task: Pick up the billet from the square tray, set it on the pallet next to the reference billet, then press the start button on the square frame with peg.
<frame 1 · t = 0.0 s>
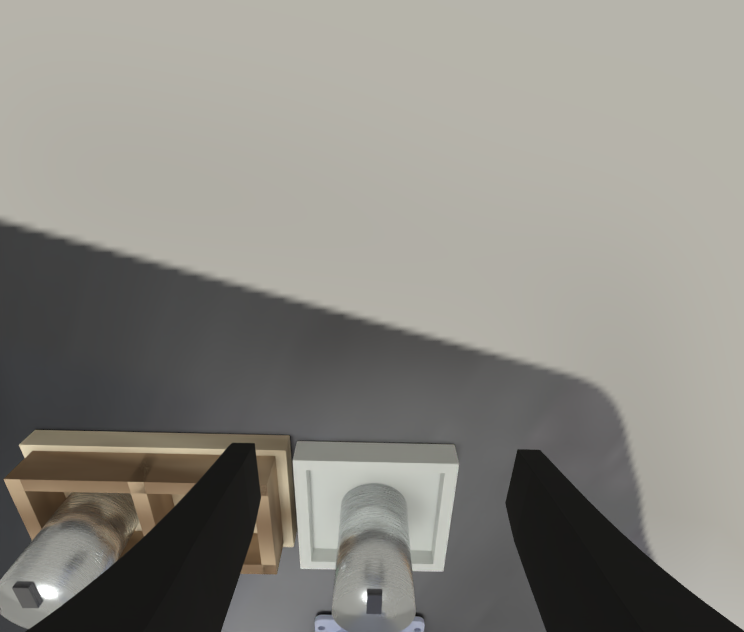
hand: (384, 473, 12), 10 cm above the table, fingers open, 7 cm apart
square tray: (373, 499, 26), on the table
reference billet: (112, 498, 25), point 1 cm above the table, touching pallet
pallet: (174, 483, 26), on the table
billet: (373, 507, 26), point 1 cm above the table, touching square tray
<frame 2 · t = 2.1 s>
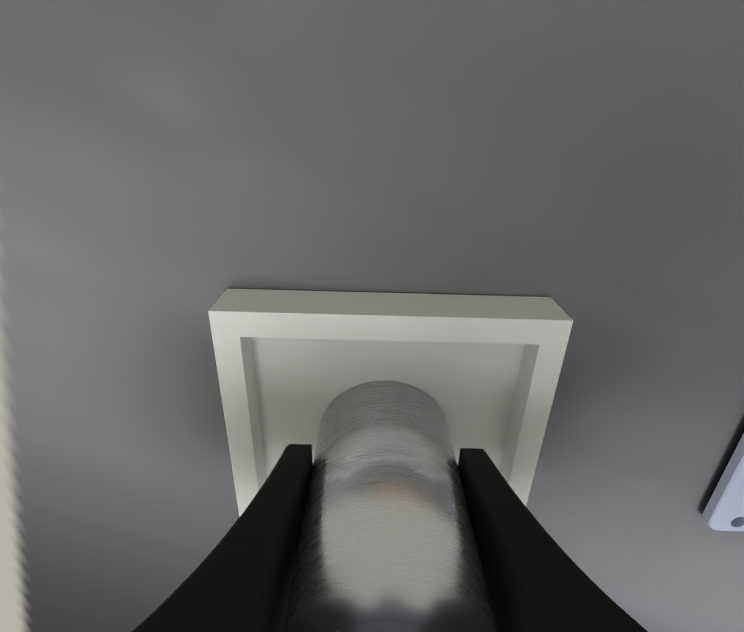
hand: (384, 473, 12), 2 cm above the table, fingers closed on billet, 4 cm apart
square tray: (383, 421, 14), on the table
billet: (383, 434, 13), point 1 cm above the table, touching gripper, square tray
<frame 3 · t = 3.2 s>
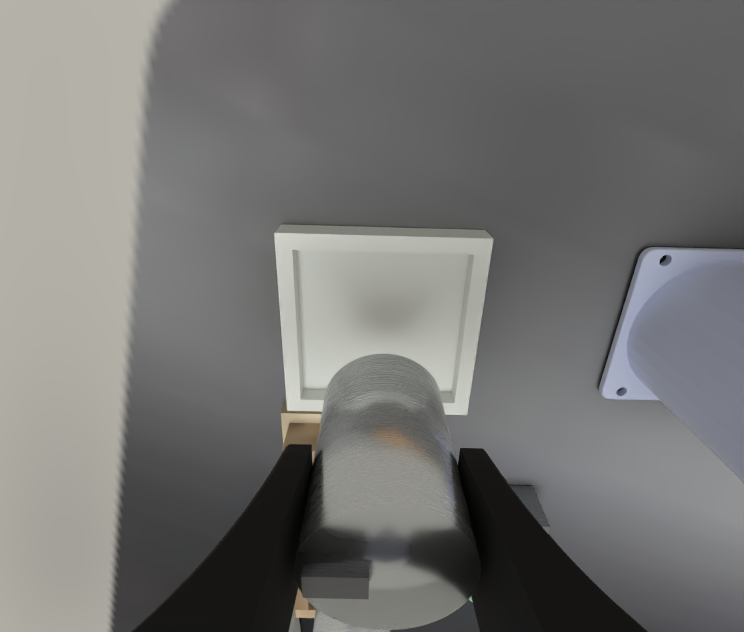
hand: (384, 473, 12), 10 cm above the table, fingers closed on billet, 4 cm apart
square tray: (379, 318, 21), on the table
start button: (482, 564, 24), point 3 cm above the table, slide at 0.0 cm
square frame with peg: (472, 521, 27), on the table
reference billet: (355, 549, 26), point 1 cm above the table, touching pallet
pallet: (356, 497, 26), on the table
billet: (382, 404, 15), point 7 cm above the table, touching gripper
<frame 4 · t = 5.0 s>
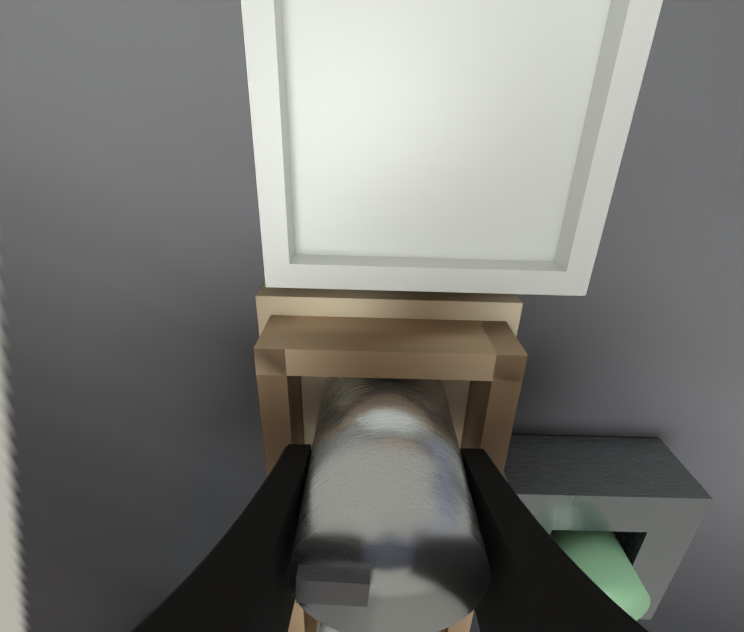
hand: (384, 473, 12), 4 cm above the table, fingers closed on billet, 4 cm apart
square tray: (433, 114, 11), on the table
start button: (588, 562, 15), point 3 cm above the table, slide at 0.0 cm
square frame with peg: (556, 497, 17), on the table
pallet: (380, 457, 16), on the table
billet: (383, 399, 14), point 1 cm above the table, touching gripper, pallet
when the fingers open (4 cm above the table, at t = 5.4 s): billet stays where it is, resting on pallet.
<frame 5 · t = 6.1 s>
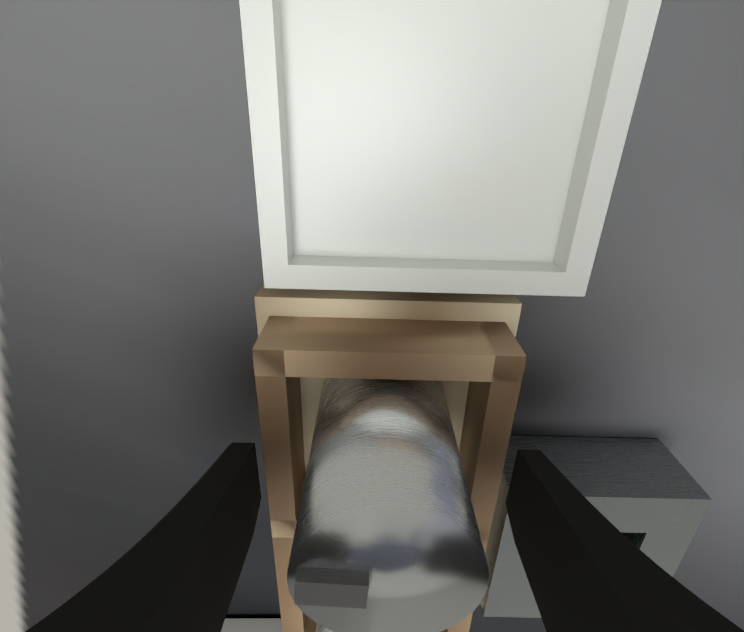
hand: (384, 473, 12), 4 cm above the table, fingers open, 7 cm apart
square tray: (432, 115, 11), on the table
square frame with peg: (556, 498, 17), on the table
pallet: (379, 458, 16), on the table
billet: (382, 400, 14), point 1 cm above the table, touching pallet
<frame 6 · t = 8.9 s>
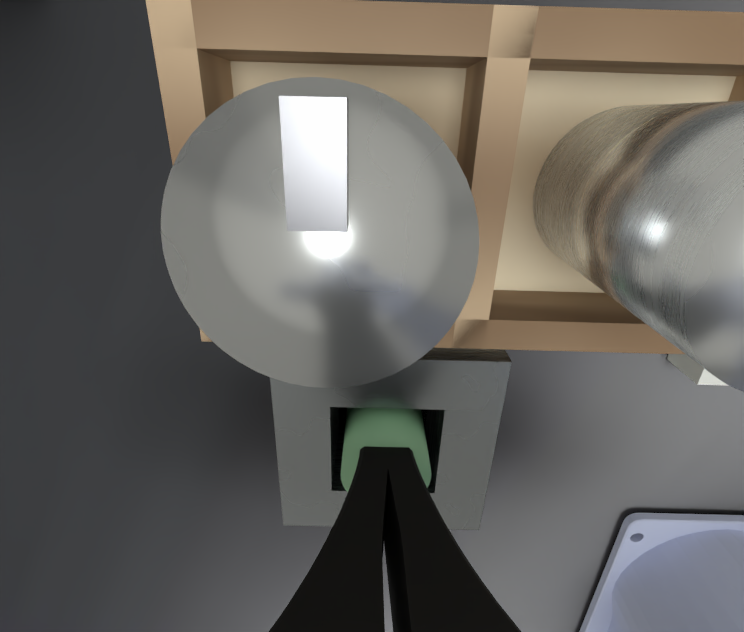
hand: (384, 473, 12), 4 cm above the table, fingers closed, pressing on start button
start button: (384, 438, 13), point 2 cm above the table, slide at 0.6 cm, touching gripper
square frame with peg: (383, 395, 15), on the table
reference billet: (348, 187, 11), point 1 cm above the table, touching pallet
pallet: (460, 183, 12), on the table
billet: (612, 192, 11), point 1 cm above the table, touching pallet
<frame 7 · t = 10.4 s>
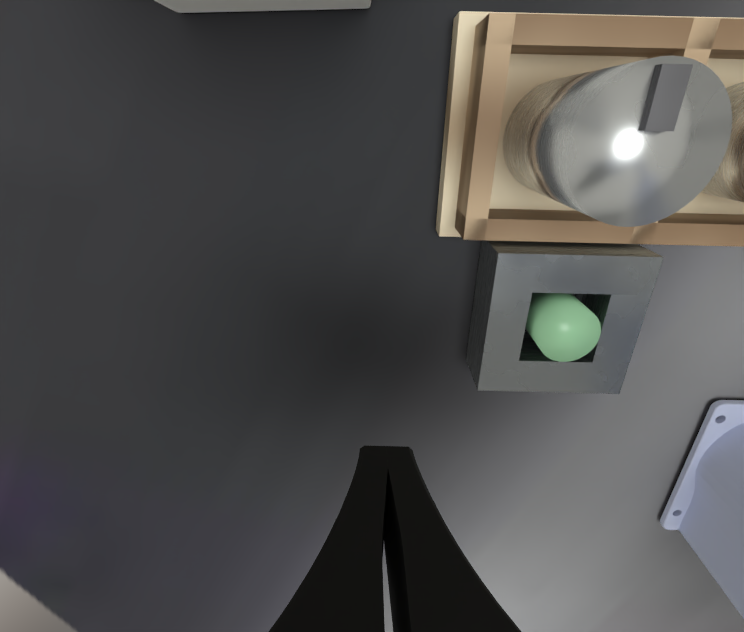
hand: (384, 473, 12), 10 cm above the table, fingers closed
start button: (555, 319, 19), point 2 cm above the table, slide at 0.9 cm
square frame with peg: (540, 302, 20), on the table
reference billet: (556, 137, 16), point 1 cm above the table, touching pallet
pallet: (621, 138, 17), on the table
billet: (733, 140, 16), point 1 cm above the table, touching pallet
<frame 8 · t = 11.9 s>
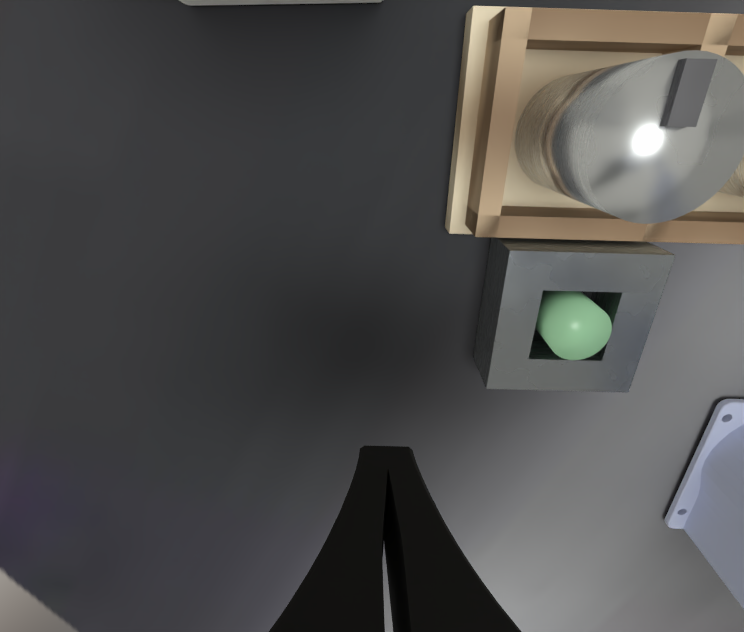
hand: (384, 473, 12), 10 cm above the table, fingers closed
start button: (564, 317, 19), point 2 cm above the table, slide at 0.9 cm
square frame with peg: (548, 300, 20), on the table
reference billet: (568, 134, 16), point 1 cm above the table, touching pallet
pallet: (632, 135, 17), on the table
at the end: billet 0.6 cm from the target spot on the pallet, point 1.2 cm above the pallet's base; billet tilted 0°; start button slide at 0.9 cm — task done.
